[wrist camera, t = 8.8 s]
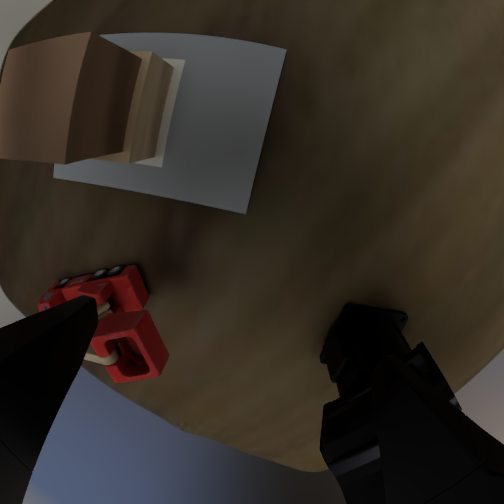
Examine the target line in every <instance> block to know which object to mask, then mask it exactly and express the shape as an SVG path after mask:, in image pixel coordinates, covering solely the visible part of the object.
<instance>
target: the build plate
mask: <svg viewBox="0 0 504 504" xmlns="http://www.w3.org/2000/svg"><path fill="white" fill-rule="evenodd" d="M99 36H101V37H103V38H105V39H107V40H109V41H111V42H113V43H114V44H116V45H118V46H120V47H122V48H124V49H126V50H127V51H146V52H154V53H155V54H156V55H158V56H159V57H161V58H162V59H163V60H165V61H166V62H167V63H169V64H170V65H172V66H173V67H174V70H173V74H172V78H171V82H170V86H169V90H168V94H167V98H166V103H165V107H164V112H163V116H162V121H161V126H160V131H159V136H158V142H157V147H156V153H155V157H153V158H149V159H145V160H141V161H138V162H134V163H131V164H125V163H118V162H111V161H104V160H96V159H86V160H82V161H78V162H74V163H70V164H66V165H62V164H54V178H59V179H66V180H72V181H78V182H84V183H90V184H96V185H102V186H108V187H113V188H119V189H124V190H130V191H135V192H141V193H146V194H151V195H156V196H161V197H166V198H171V199H176V200H181V201H186V202H191V203H196V204H201V205H205V206H210V207H215V208H219V209H224V210H229V211H233V212H238V213H242V214H246V211H247V207H248V203H249V199H250V194H251V190H252V186H253V182H254V178H255V174H256V169H257V165H258V161H259V157H260V153H261V149H262V145H263V141H264V137H265V133H266V129H267V125H268V121H269V117H270V113H271V109H272V105H273V101H274V97H275V93H276V89H277V85H278V81H279V77H280V74H281V70H282V66H283V62H284V58H285V54H286V51H287V50H286V49H282V48H278V47H274V46H269V45H264V44H259V43H254V42H249V41H243V40H237V39H230V38H223V37H215V36H205V35H194V34H179V33H123V34H108V35H99Z"/></svg>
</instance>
